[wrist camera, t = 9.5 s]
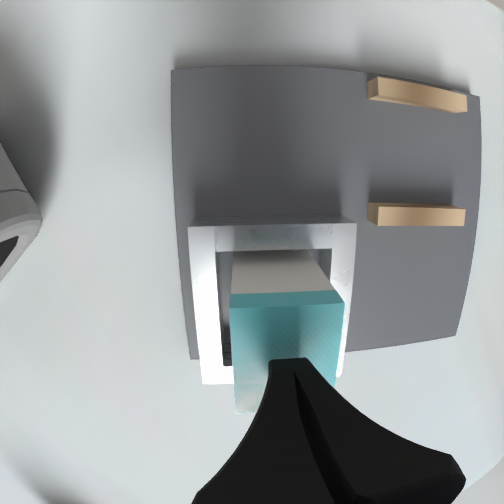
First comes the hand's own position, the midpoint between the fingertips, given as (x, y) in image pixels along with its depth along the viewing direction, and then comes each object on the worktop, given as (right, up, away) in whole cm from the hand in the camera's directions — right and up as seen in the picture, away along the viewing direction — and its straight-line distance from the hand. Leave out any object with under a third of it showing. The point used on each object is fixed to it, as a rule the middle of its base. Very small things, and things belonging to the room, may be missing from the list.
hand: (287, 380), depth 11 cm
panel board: (+4, +6, +7) cm, 11 cm away
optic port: (0, +2, +8) cm, 8 cm away
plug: (0, +2, +7) cm, 8 cm away
